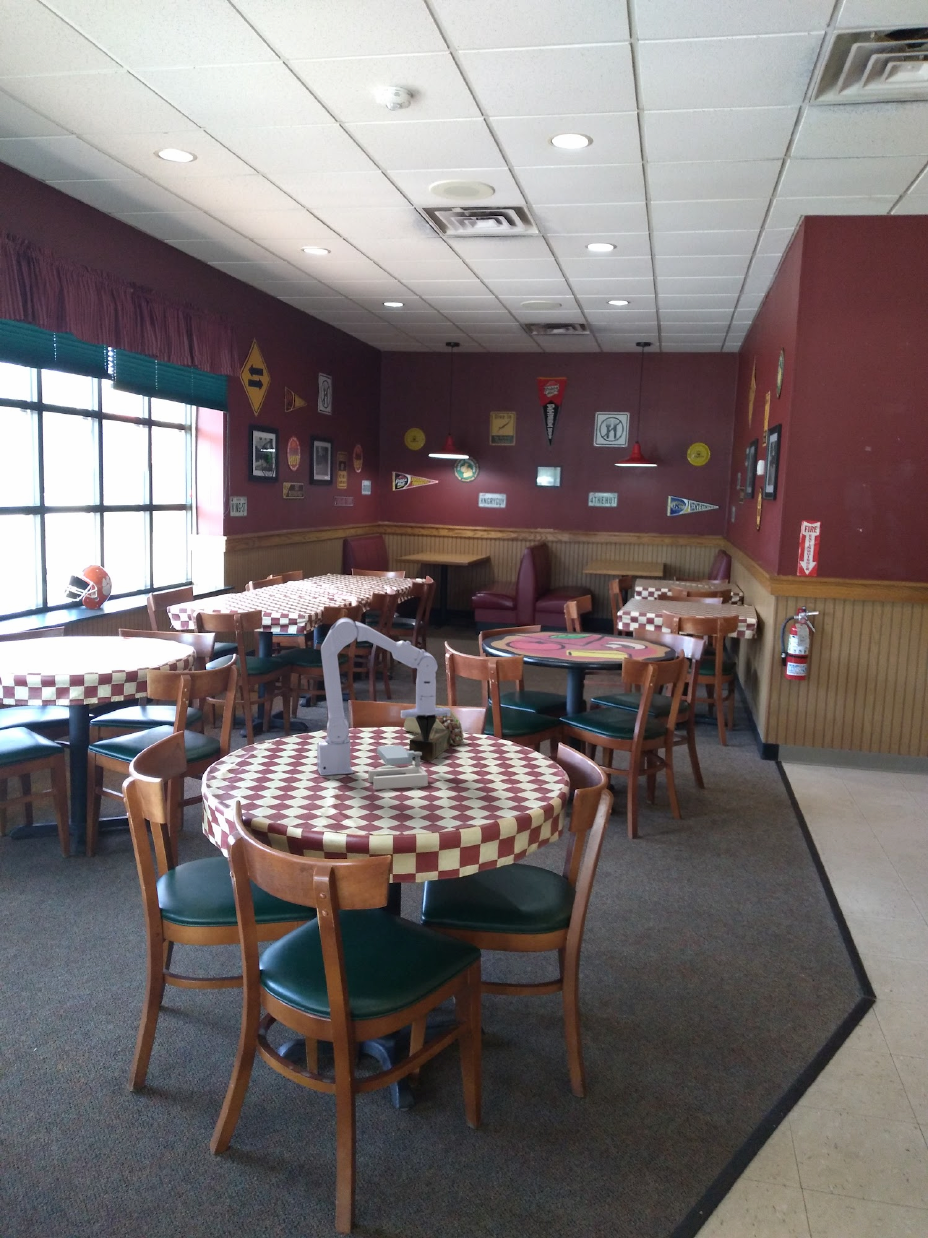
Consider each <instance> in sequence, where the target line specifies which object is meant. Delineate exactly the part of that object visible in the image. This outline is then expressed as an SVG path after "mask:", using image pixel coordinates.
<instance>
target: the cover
mask: <svg viewBox="0 0 928 1238" xmlns="http://www.w3.org/2000/svg"><path fill="white" fill-rule="evenodd" d="M376 754H377V755H378V757H379V758H380V759H381V760H382V761H383V763H384V765H386V766H396V765H397V766H398V765H413V759H412V757H415V756H421V755H422V752H414V751H409V750H407V749H406V748H405V747H404V746H403V745H402V744H401V745H400V744H399V745H386V746H381V745H380V746H376Z"/></svg>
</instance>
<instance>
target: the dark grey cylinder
mask: <svg viewBox="0 0 928 1238" xmlns="http://www.w3.org/2000/svg"><path fill="white" fill-rule="evenodd" d="M393 775H406V773H392V774H378V775H376V777H379V776H393Z"/></svg>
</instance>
